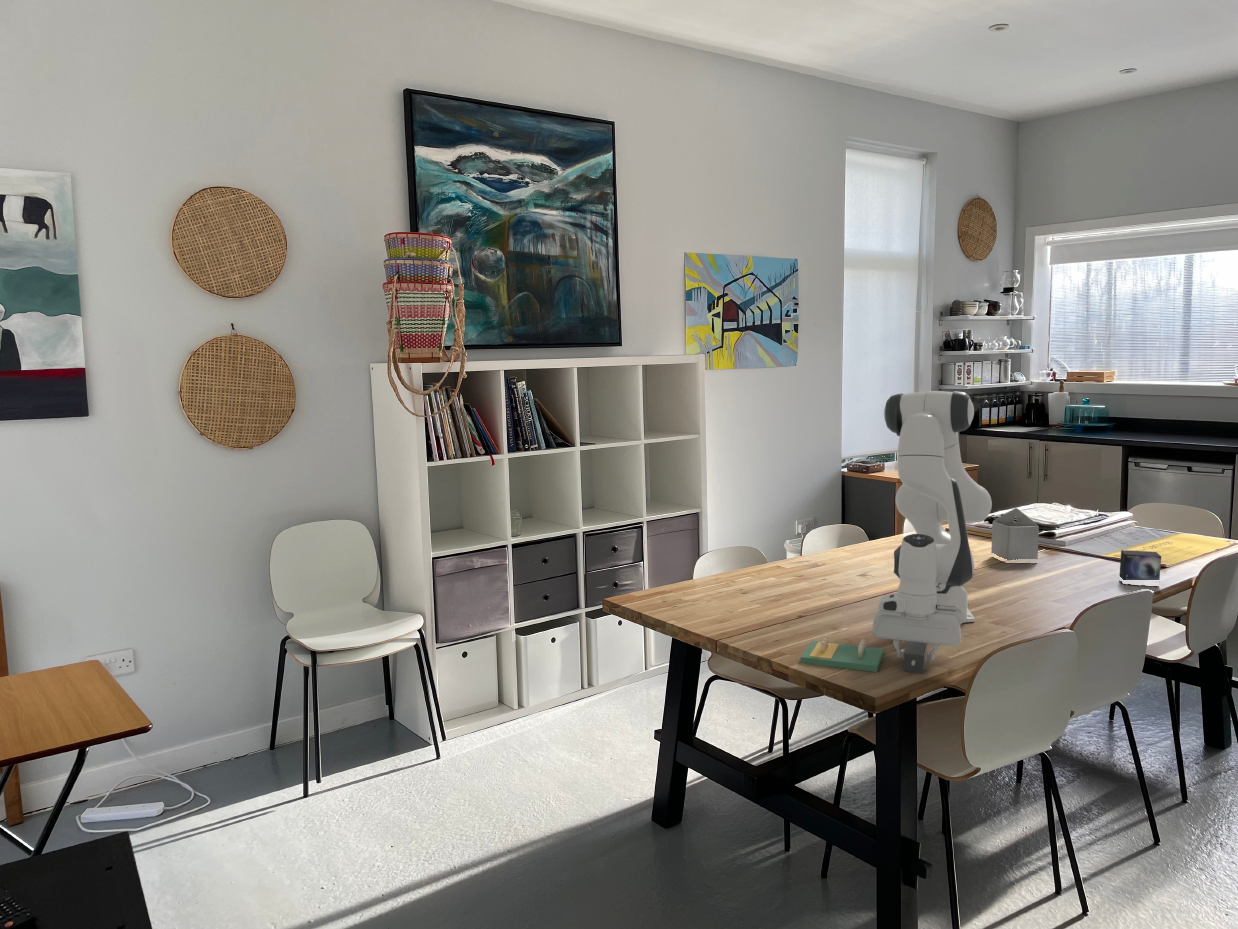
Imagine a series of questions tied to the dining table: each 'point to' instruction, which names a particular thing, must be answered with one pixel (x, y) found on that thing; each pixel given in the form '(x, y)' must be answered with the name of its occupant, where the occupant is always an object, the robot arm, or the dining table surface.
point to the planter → (1015, 536)
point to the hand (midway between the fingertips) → (915, 659)
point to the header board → (843, 655)
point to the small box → (1140, 565)
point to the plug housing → (915, 657)
